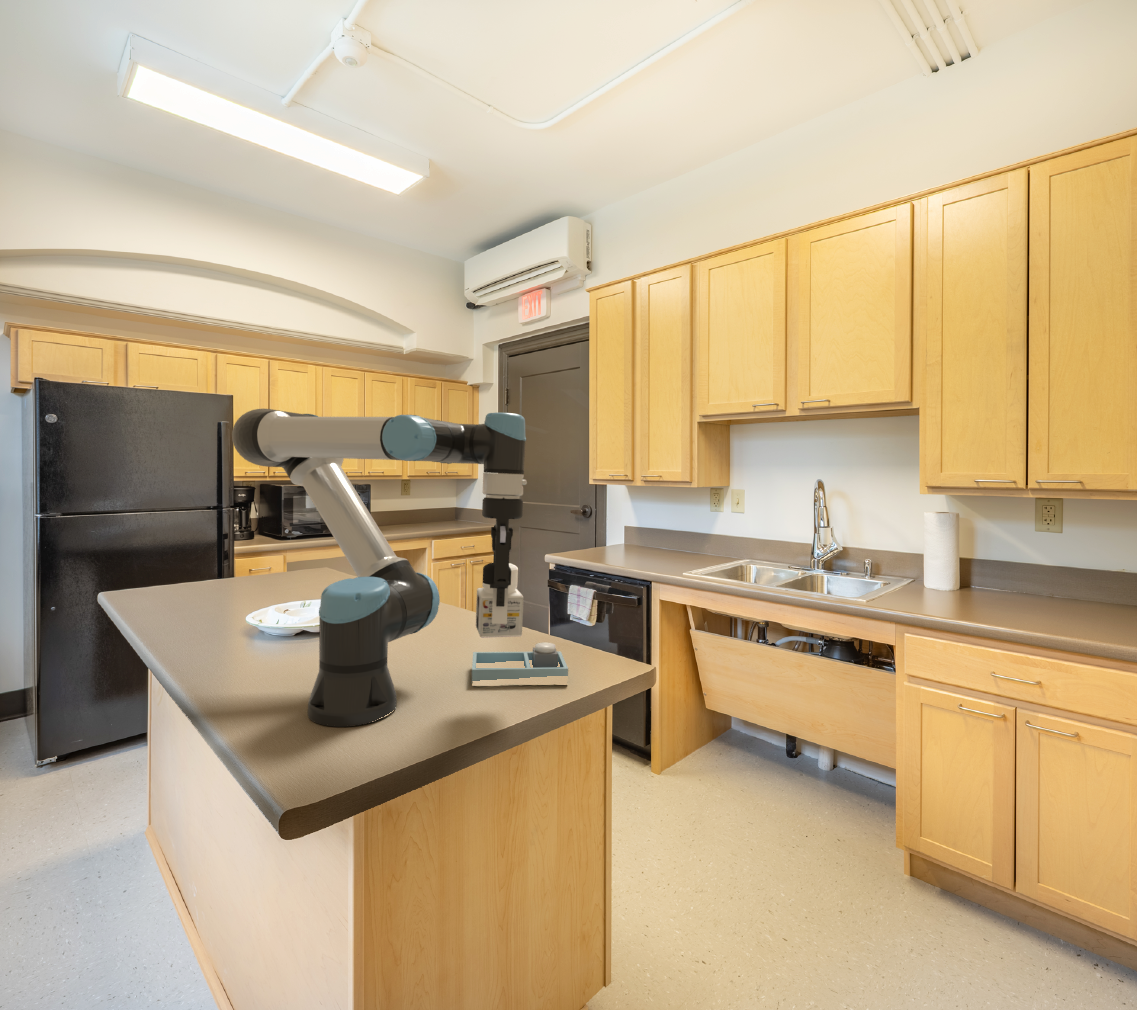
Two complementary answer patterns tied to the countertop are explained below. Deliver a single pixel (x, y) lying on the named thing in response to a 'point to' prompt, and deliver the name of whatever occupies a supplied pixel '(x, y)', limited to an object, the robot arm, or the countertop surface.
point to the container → (485, 606)
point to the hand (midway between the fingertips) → (498, 617)
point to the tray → (541, 657)
